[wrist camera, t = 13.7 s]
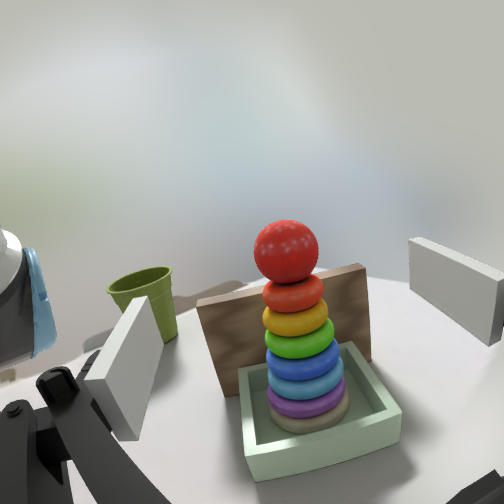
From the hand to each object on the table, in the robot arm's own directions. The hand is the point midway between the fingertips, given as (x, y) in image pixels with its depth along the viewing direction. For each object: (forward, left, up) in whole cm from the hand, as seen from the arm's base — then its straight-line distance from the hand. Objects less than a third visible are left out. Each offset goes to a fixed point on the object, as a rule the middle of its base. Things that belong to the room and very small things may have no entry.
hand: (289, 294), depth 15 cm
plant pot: (-20, +36, -18) cm, 45 cm away
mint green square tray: (+1, +10, -18) cm, 21 cm away
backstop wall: (+1, +18, -18) cm, 25 cm away
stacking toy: (+1, +10, -17) cm, 20 cm away
